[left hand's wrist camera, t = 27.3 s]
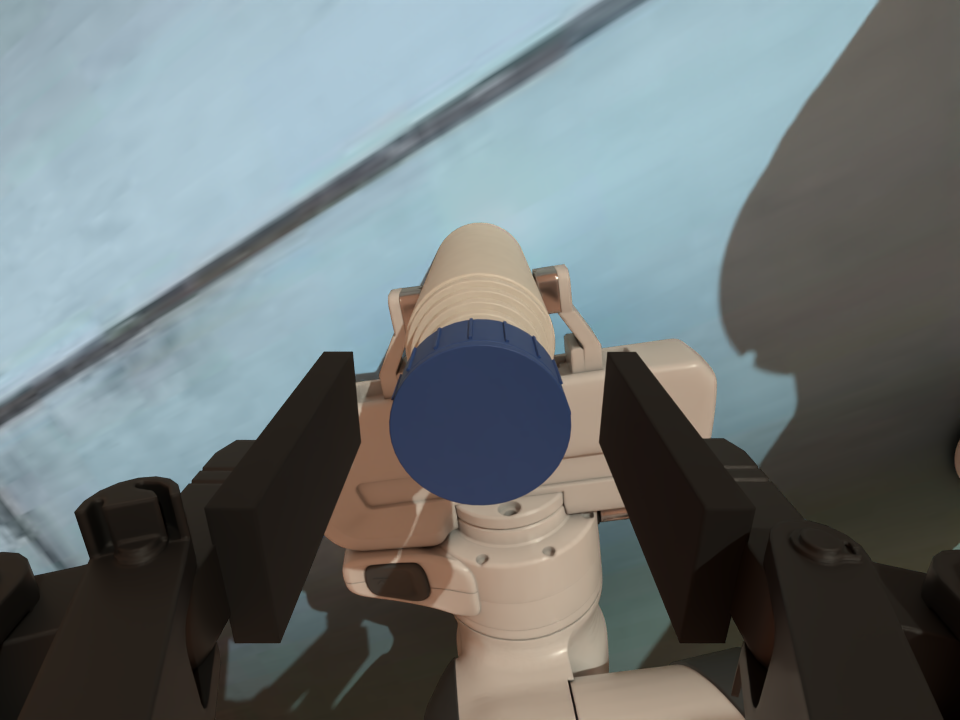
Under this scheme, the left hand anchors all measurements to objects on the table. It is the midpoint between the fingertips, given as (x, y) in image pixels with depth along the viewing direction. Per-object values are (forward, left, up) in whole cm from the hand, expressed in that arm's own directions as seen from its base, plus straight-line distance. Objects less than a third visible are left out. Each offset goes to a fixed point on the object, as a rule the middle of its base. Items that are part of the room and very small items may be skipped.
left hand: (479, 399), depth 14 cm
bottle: (0, 0, -17) cm, 17 cm away
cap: (0, 0, +1) cm, 1 cm away
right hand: (-1, 0, -10) cm, 10 cm away
